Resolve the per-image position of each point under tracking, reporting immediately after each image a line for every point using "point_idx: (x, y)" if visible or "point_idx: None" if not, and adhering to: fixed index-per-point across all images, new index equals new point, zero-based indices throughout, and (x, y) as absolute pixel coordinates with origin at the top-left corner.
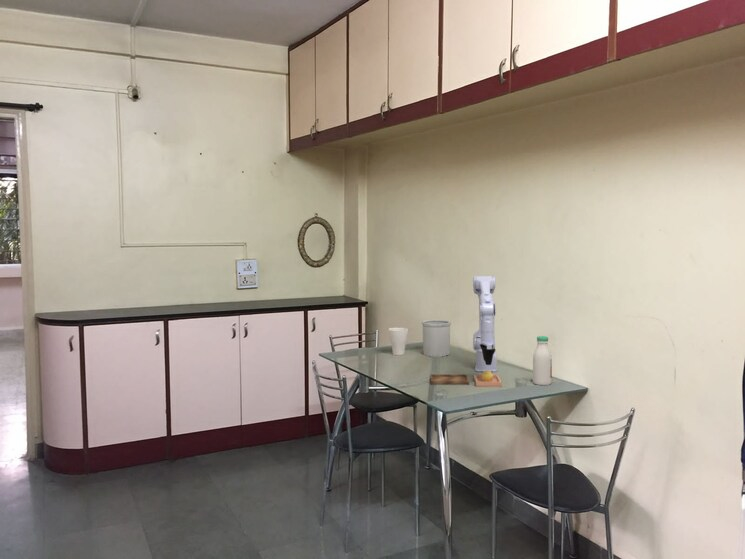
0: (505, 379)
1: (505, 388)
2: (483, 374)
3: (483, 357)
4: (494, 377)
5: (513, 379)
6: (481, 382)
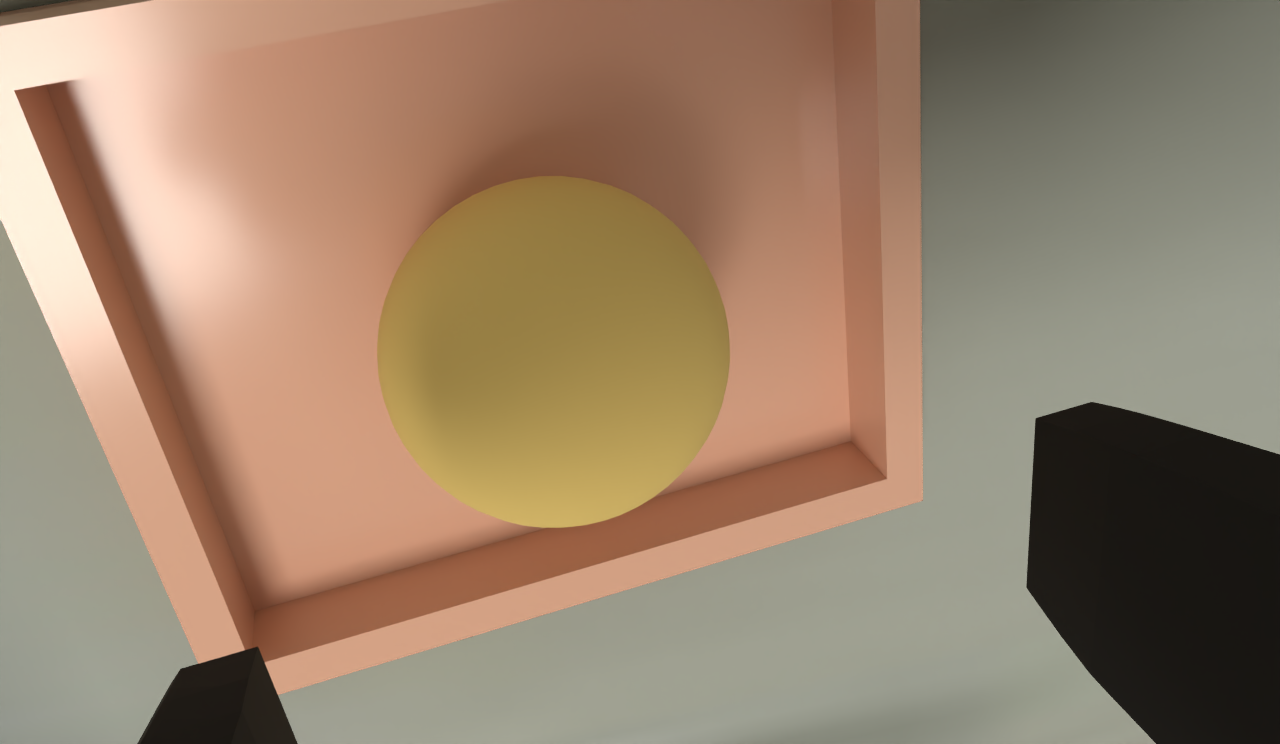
0: (877, 575)
1: (104, 725)
2: (446, 278)
3: (1156, 472)
4: (861, 412)
5: (884, 692)
6: (5, 210)
